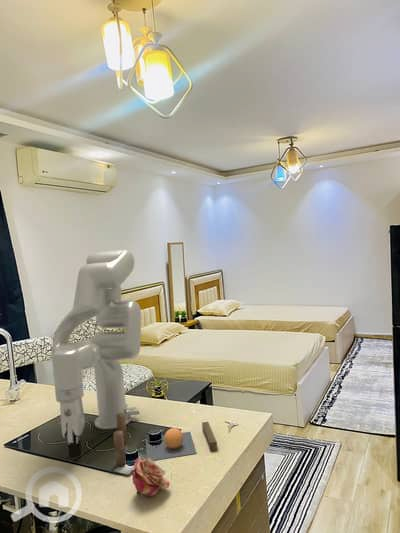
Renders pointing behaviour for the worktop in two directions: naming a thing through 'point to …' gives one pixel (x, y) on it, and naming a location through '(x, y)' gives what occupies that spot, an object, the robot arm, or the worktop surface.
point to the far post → (121, 425)
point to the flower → (148, 477)
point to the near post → (119, 448)
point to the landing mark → (166, 452)
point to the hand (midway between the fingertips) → (75, 455)
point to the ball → (173, 438)
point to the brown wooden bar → (209, 436)
